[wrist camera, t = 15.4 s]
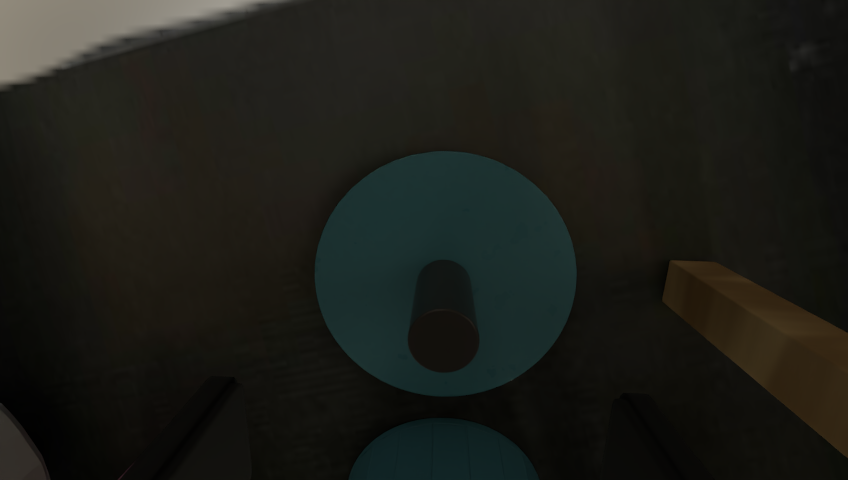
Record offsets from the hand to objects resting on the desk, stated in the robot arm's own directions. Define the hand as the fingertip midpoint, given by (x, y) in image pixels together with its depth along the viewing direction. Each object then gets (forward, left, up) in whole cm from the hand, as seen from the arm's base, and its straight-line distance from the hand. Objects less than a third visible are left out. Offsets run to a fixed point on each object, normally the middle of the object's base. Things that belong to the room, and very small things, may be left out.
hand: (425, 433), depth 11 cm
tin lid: (0, 0, -11) cm, 11 cm away
